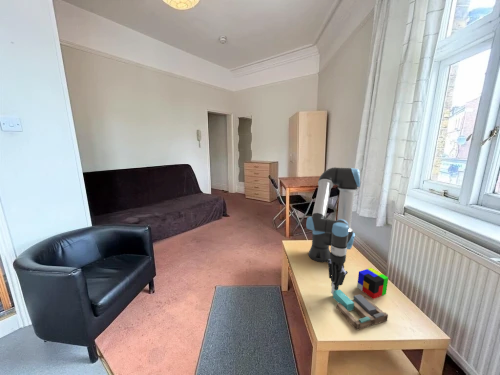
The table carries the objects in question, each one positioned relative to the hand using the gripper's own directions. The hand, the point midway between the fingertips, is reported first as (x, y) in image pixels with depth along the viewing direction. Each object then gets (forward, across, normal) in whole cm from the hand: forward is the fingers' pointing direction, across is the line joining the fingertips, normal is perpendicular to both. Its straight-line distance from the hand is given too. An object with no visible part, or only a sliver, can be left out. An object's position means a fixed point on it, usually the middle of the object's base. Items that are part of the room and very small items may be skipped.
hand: (334, 293), depth 111 cm
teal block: (+2, +6, +1) cm, 6 cm away
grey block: (+2, +12, +8) cm, 14 cm away
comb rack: (+2, +14, +4) cm, 15 cm away
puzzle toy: (+2, +2, +23) cm, 23 cm away
